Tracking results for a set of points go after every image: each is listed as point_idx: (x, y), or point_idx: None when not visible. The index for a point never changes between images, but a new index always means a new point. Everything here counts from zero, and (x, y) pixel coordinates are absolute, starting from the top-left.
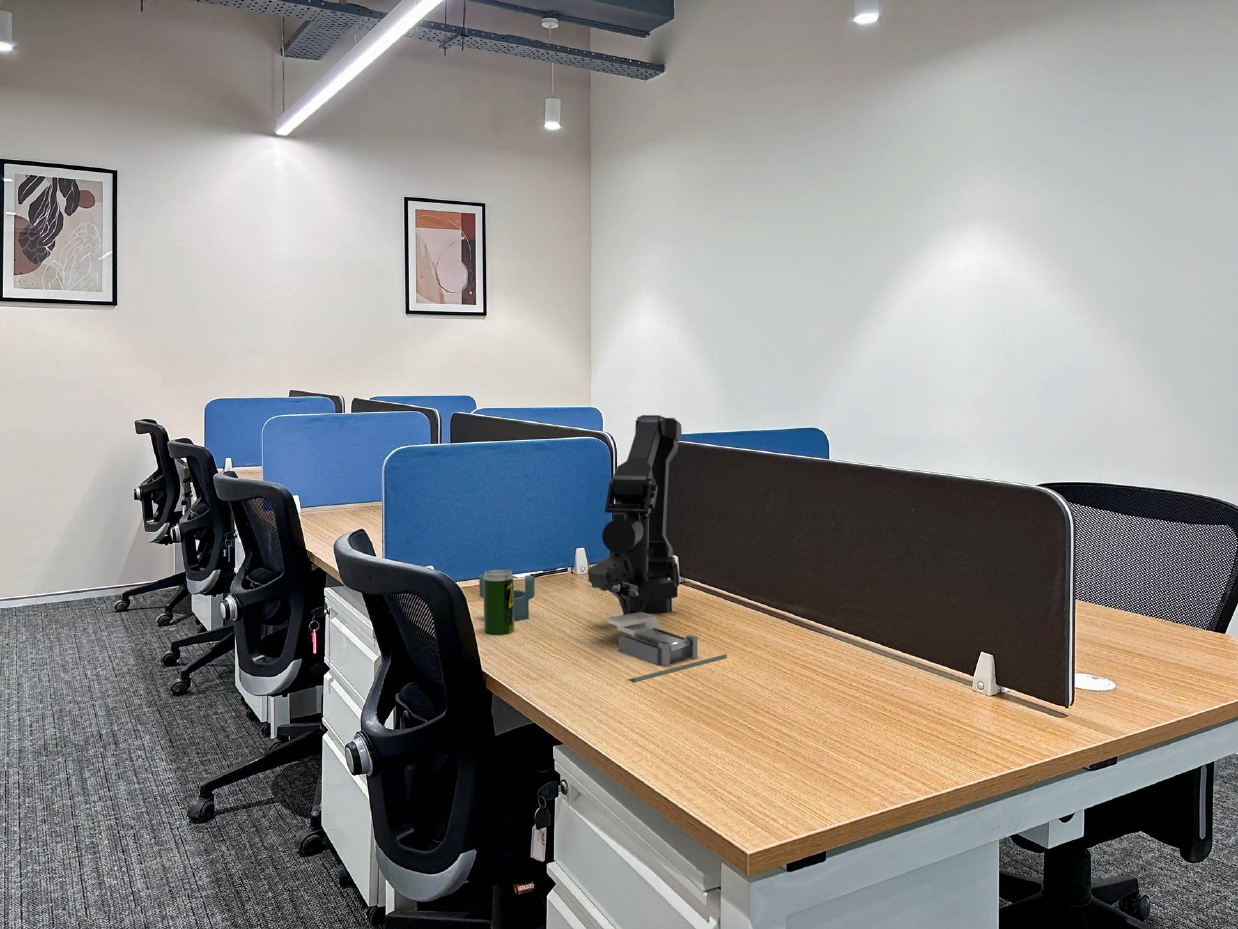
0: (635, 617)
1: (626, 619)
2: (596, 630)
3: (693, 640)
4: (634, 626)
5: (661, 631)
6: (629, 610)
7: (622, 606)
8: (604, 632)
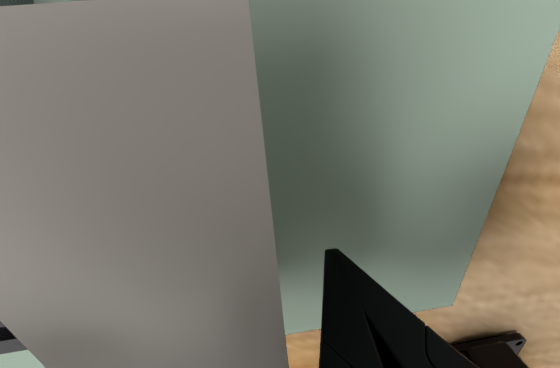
0: (117, 332)
1: (48, 231)
2: (529, 181)
3: None
4: None
5: (7, 339)
6: (334, 363)
7: (444, 364)
8: None
